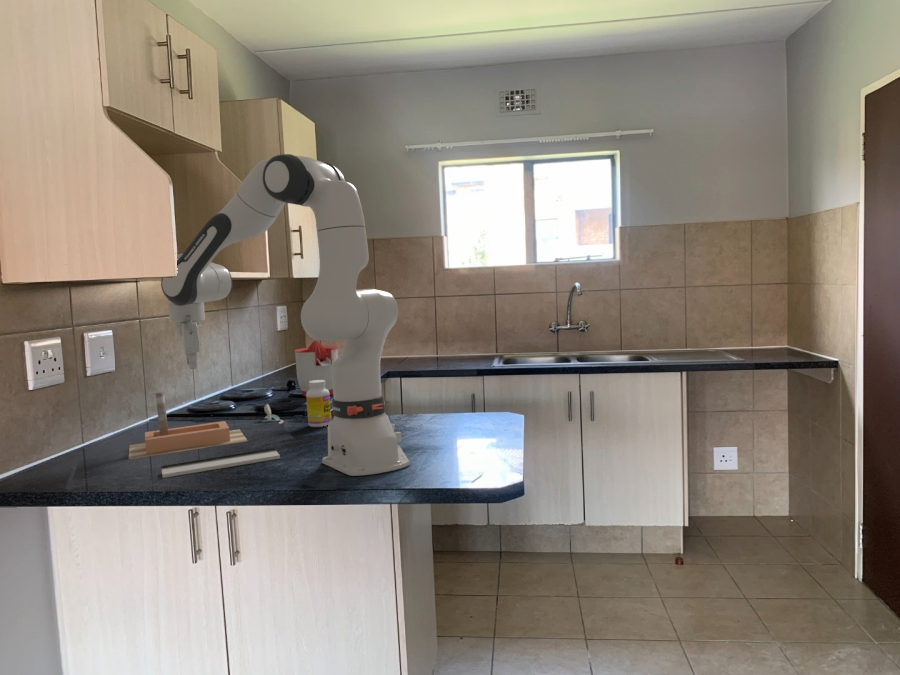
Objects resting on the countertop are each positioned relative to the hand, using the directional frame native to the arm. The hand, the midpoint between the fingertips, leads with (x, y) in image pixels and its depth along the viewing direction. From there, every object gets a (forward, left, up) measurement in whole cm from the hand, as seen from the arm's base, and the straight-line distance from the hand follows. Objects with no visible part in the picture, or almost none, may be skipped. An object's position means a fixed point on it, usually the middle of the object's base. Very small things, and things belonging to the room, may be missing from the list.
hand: (192, 366), depth 180 cm
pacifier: (+12, -22, -21) cm, 32 cm away
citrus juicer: (+50, -45, -21) cm, 70 cm away
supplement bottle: (+1, -33, -21) cm, 39 cm away
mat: (-22, -3, -21) cm, 31 cm away
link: (-4, +3, -19) cm, 20 cm away
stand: (-4, +3, -21) cm, 21 cm away
